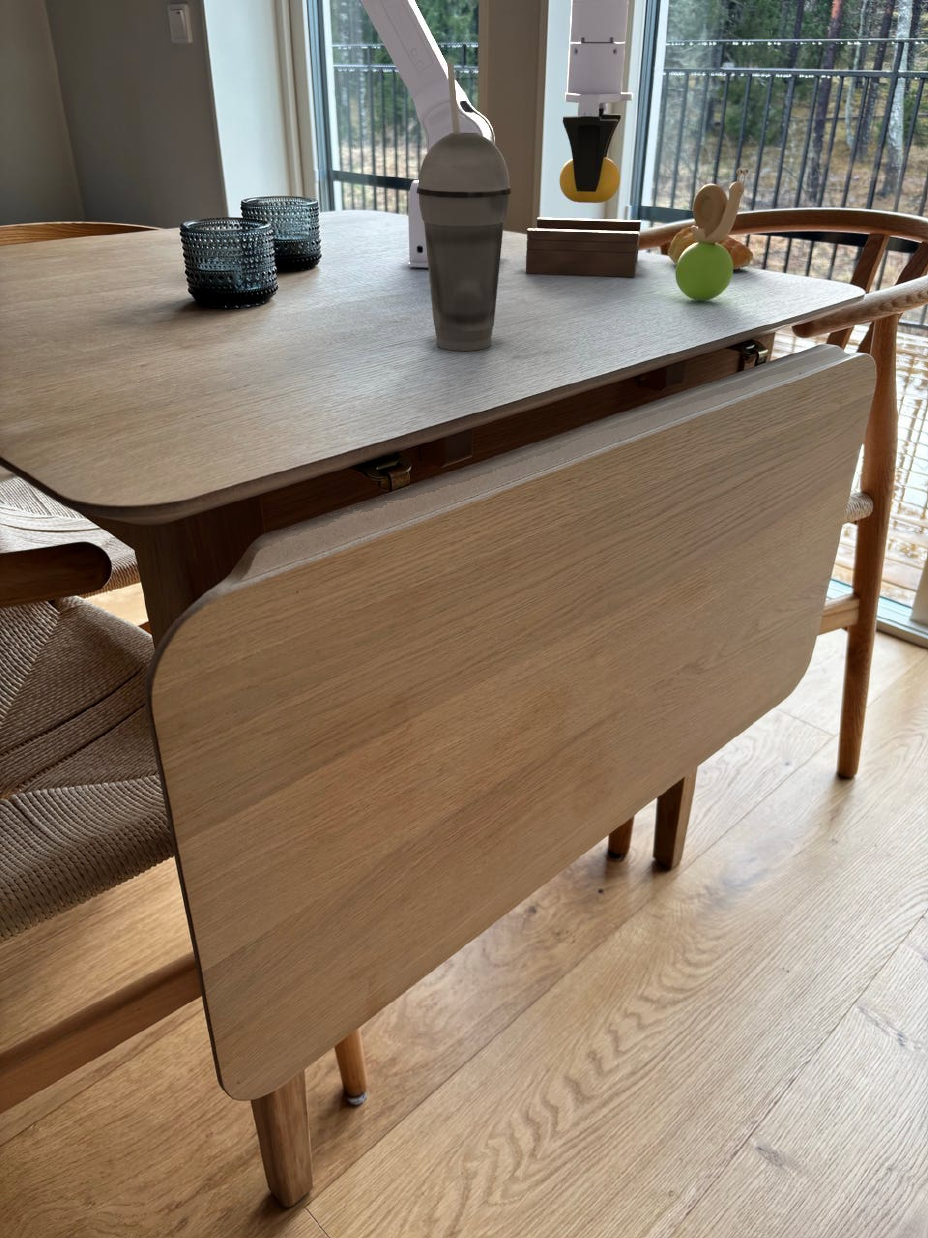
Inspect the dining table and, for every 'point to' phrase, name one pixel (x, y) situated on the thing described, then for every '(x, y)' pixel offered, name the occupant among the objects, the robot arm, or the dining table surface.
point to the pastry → (736, 249)
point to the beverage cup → (463, 231)
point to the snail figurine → (710, 242)
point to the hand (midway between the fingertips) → (588, 188)
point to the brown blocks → (583, 247)
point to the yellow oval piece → (604, 190)
